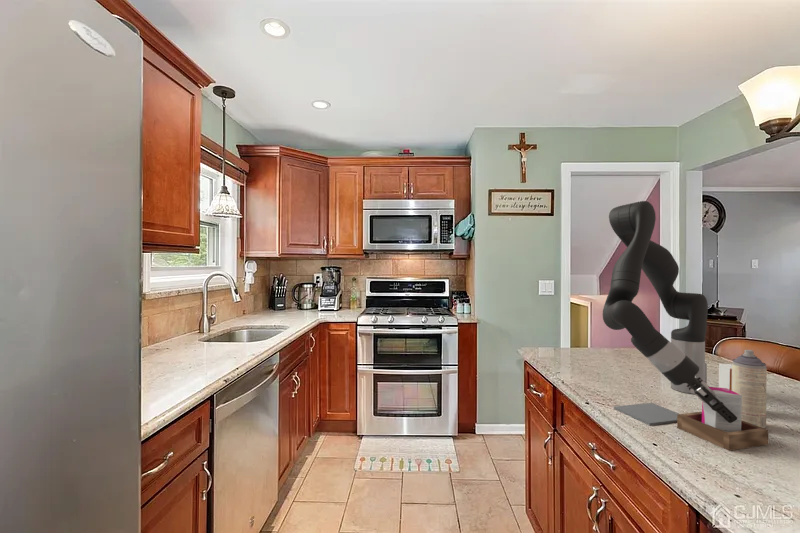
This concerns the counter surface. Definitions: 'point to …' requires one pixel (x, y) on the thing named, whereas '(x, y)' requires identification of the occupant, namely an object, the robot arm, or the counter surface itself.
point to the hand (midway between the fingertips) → (728, 415)
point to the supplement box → (731, 402)
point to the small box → (725, 376)
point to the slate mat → (649, 413)
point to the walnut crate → (723, 432)
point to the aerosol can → (750, 387)
